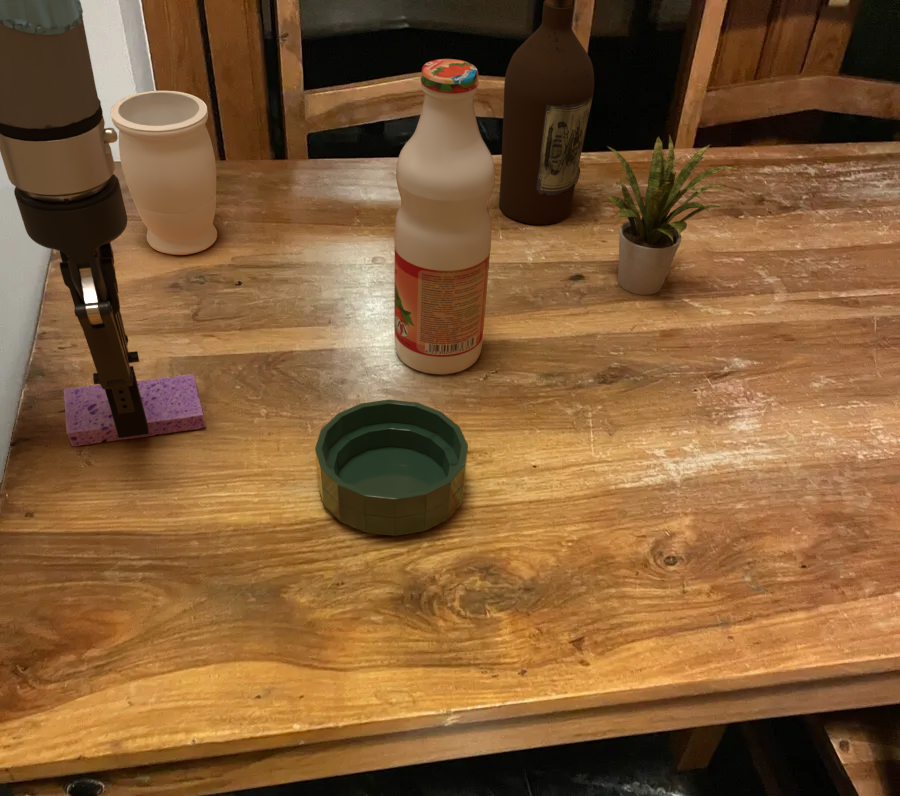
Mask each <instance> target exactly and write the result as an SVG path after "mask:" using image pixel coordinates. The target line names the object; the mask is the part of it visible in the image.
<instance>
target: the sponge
mask: <svg viewBox="0 0 900 796" xmlns="http://www.w3.org/2000/svg"><path fill="white" fill-rule="evenodd" d="M137 384H138V388H139V392H140V396H141V400H142V404H143V408H144V411H145V415H146V419H147V423H148V430H149V434H144V435H137V436H130V437H123V438H119V437H118V433H117V430H116V426H115V423H114V419H113V416H112V412H111V409H110V405H109V402H108V398H107V395H106V391H105V389H103V388H102V387H101V385H100V384H94V385H91V386H90V385H89V386H88V385H83V386H82V385H81V386H74V387H66V388H63V400H64V414H65V428H66V435H67V436H68V439H69V442H70V444H71V447H79V446H84V445H93V444H102V443H103V441H106V442H114V441H118V440H129V439H139V438H145V437H152V436H156V435H157V434H158V435H164V434H170V433H176V432H177V433H179V432H186V431H192V430H193V431H194V430H199V429H203V428H207V422H206V419H205V415H204V410H203V406H202V403H201V399H200V394H199V389H198V385H197V381H196V377H195V375H194V373H191V374H190V373H189V374H180V375H176V376H164V377H163V376H162V377H159V378H154V379H146V380H145V381H144V380H141V379H140V380H137Z"/></svg>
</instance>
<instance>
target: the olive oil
mask: <svg viewBox="0 0 900 796" xmlns="http://www.w3.org/2000/svg"><path fill="white" fill-rule="evenodd" d="M573 1H574V0H544V1H543V5H542V16H541V18H542V19H541V24H540V25H539V27H538V28H536V30H535V31H534V32H533V33H532V34H531V35H530V36H529V37H528V38H527V39H526V40H525V41H524V42H523V43H521V45H520V46H519V47H518V48H517V49H516V50H515V52H514V53H513V55H512V56H511V58H510V61H509V63H508V66H507V68H506V72H505V76H504V83H503V84H504V85H503V86H504V87H503V114H502V117H503V118H502V140H501V141H502V143H501V144H502V145H501V162H500V163H501V165H500V166H501V167H500V182H499V183H500V184H499V199H498V206H499V209H500V210H501V212H502V213H503V214H504V215H505V216H506V217H508V218H510V219H511V220H514V221H515V222H519V223H522V224H527V225H535V226H544V225H551V224H552V225H553V224H557V223H559V222H561V221H563V220H565V219H566V218H567V217H568V216H569V215H570V213H571V211H572V205H573V199H574V194H575V188H576V184H577V183H578V182H579V179H580V175H581V168H580V161H581V156H582V152H583V146H584V142H585V137H586V132H587V126H588V122H589V116H590V111H591V107H592V102H593V97H594V92H595V73H594V66H593V62H592V60H591V57H590V56H589V54H588V52H587V51H586V49H585V48H584V46H583V44H582V43H581V42H580V40H579V38H578V37H577V35H576V34H575V33H574V31H573V28H572V21H573V13H574V8H575V7H574V6H575V3H574V2H573Z"/></svg>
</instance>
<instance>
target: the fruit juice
mask: <svg viewBox="0 0 900 796" xmlns="http://www.w3.org/2000/svg"><path fill="white" fill-rule="evenodd" d="M420 84H421V85H420V88H421V90H422V92H423V103H422V108H421V112H420V115H419V118H418V122H417V125H416V128H415V130H414V132H413V134H412V136H411V137H410V138H409V139H408V141H407V142H405V144H404V145H403V147H402V149H400V153H399V154H398V157H397V161H396V171H395V177H396V178H395V179H396V186H397V190H398V193H399V198H400V205H399V206H398V209H397V213H396V216H395V221H394V222H395V223H394V236H393V237H394V239H393V242H394V243H393V247H394V249H393V250H394V274H393V275H394V282H393V283H394V285H393V286H394V291H393V292H394V295H393V296H394V306H393V307H394V308H393V309H394V310H393V311H394V312H393V313H394V317H393V319H394V321H393V323H394V329H393V330H394V333H393V334H394V335H393V336H394V347H395V351H396V354H397V356H398V357H399V359H400V360H401V361H402V362H403V363H404V364H405V365H406V366H408V367H409V368H411V369H414V370H415V371H418V372H422V373H425V374H431V375H448V374H449V375H451V374H454V373H459V372H462V371H464V370H467V369H469V368H470V367H472V366H473V365H474V364H475V363H476V362H477V360H478V359H479V357H480V355H481V353H482V348H483V342H484V330H485V319H486V318H485V317H486V308H487V307H486V305H487V293H488V282H489V281H488V280H489V271H490V270H489V269H490V258H491V257H490V256H491V249H492V220H491V215H490V212H489V209H488V204H489V202H490V199H491V196H492V193H493V190H494V187H495V182H496V181H495V180H496V167H495V162H494V158H493V156H492V153H491V151H490V149H489V147H488V146H487V144H486V142H485V141H484V138H483V137H482V134H481V132H480V129H479V124H478V120H477V116H476V112H475V102H474V96H475V95H476V94H477V93H478V87H479V70H478V68H477V67H476V66H475V65H474V64H472V63H470V62H468V61H465V60H461V59H453V58H440V59H434V60H430V61H428V62H426V63H425V64H423V66H422V68H421V73H420Z"/></svg>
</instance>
